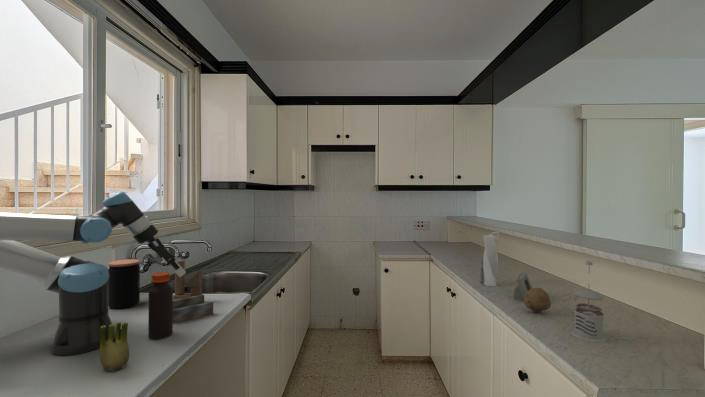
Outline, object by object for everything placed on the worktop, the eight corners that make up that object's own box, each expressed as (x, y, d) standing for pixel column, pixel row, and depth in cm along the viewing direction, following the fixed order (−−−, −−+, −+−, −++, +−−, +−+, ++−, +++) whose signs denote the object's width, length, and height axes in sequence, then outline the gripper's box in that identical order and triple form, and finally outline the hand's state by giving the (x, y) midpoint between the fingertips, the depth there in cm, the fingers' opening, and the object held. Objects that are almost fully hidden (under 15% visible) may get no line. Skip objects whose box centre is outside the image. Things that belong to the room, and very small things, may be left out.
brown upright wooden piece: (198, 304, 135) (199, 261, 135) (172, 304, 134) (172, 261, 134) (202, 301, 139) (202, 259, 138) (177, 301, 138) (177, 259, 138)
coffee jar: (144, 304, 134) (144, 261, 134) (115, 311, 125) (115, 265, 125) (132, 299, 140) (132, 258, 140) (103, 306, 131) (103, 262, 131)
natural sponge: (556, 315, 125) (557, 290, 125) (539, 318, 122) (540, 292, 122) (536, 307, 134) (536, 284, 134) (520, 310, 131) (520, 285, 131)
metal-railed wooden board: (172, 323, 114) (172, 310, 114) (164, 313, 124) (164, 301, 124) (213, 314, 123) (213, 302, 123) (203, 305, 133) (203, 294, 133)
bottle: (175, 335, 105) (176, 274, 105) (152, 342, 100) (152, 277, 100) (168, 329, 109) (168, 270, 109) (145, 335, 104) (145, 274, 104)
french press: (599, 345, 100) (600, 265, 100) (559, 331, 110) (560, 259, 110) (612, 338, 106) (613, 262, 105) (572, 325, 115) (573, 256, 115)
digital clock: (529, 304, 138) (529, 279, 138) (507, 299, 145) (507, 275, 145) (540, 296, 149) (541, 273, 149) (520, 292, 156) (520, 270, 156)
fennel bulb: (96, 373, 82) (97, 326, 82) (111, 363, 87) (111, 319, 87) (119, 373, 82) (119, 326, 82) (132, 363, 87) (132, 319, 87)
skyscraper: (496, 283, 172) (497, 231, 172) (500, 287, 164) (501, 233, 164) (479, 282, 173) (480, 231, 173) (483, 286, 165) (483, 232, 165)
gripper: (158, 226, 111) (195, 270, 120) (146, 221, 130) (179, 259, 139) (136, 240, 108) (177, 285, 116) (128, 232, 127) (163, 272, 135)
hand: (178, 271), depth 127 cm, fingers open, 13 cm apart
